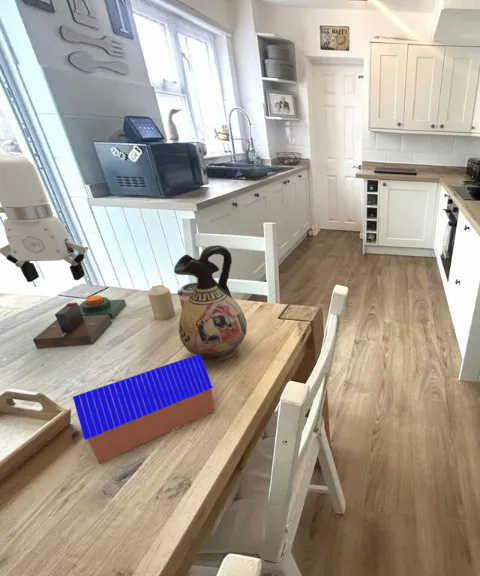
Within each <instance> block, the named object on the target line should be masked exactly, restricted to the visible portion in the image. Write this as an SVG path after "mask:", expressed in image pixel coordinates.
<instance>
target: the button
mask: <svg viewBox="0 0 480 576" xmlns="http://www.w3.org/2000/svg"><path fill="white" fill-rule="evenodd" d="M102 297H103V296H102V295H99V294H98V295H91V296H88V297H87V298H86V299H85V301H87V304H88V305H97V304H100V303H102V302H103V299H102Z"/></svg>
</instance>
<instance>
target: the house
mask: <svg viewBox="0 0 480 576" xmlns="http://www.w3.org/2000/svg"><path fill="white" fill-rule="evenodd" d="M212 389H213V385H212V382H211V379H210V376H209V374H208V371H207V369H206V366H205V364H204V361H203V360H202V358H201V356H200V354H197V355H195V354H193V355H191V356H188V357H186V358H183V359H179V360H177V361H174V362H171V363H168V364H165V365H162V366H160V367H156V368H153V369H150V370H147V371H145V372H144V371H143V372H141V373H139V374H138V373H137V374H135V375H132V376H129V377H126V378H124V379H120V380H117V381H114V382H112V383H109V384H106V385H103V386H100V387H97V388H94V389H92V390H88V391H85V392H83V393H79V394H76V395H74V396H72V400H73V403H74V406H75V410H76V413H77V418H78V421H79V425H80V428H81V432H82V436H83V439H84V441H86V440H88V443H89V446H90V447H91V449H92V452H93V454H94V456H95V458H96V459H97V462H98V464H103V463H104V462H107V461H109V460H111V459H113V458H115V457H118V456H120V455H122V454H124V453H126V452H128V451H131V450H133V449H135V448H138V447H139V446H143V445H144V444H146V443H148V442H150V441H153V440H155V439H157V438H159V436H160V437H162V436H164V435H166V434H168V433H170V432H169V431H171V430H173V429H175V430H177V429H178V428H177V427H179V428H181V427H180V426H182V425H184V424H186V425H188V424H190V423H192V422H191V421H193V420H195V421H197V420H199V419H200V418H199V417H201V418H203V417H202V416H204V415H206V414H208V415H210V414H212V413H213V412H212V411H215V412H216V406H215V402H214V397H213V393H212ZM211 412H212V413H211ZM209 413H210V414H209ZM206 416H207V415H206ZM204 417H205V416H204ZM198 418H199V419H198ZM196 419H197V420H196ZM189 422H190V423H189ZM193 422H194V421H193ZM187 423H188V424H187ZM184 426H185V425H184ZM182 427H183V426H182ZM176 428H177V429H176ZM173 431H174V430H173ZM167 432H168V433H167ZM171 432H172V431H171ZM165 433H166V434H165ZM163 434H164V435H163ZM161 435H162V436H161ZM156 437H157V438H156Z"/></svg>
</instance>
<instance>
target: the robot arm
mask: <svg viewBox="0 0 480 576" xmlns="http://www.w3.org/2000/svg"><path fill="white" fill-rule="evenodd" d="M0 205H1V206H0V214H5V216H6V218H4V219H3V225H4V232H5V236H6V240H7V243H8V244H7V245H5V246H3V247H2V246H1V247H0V254H1V255H2V256H3V257H4V258H6V260H7V261H8V262H11V263H12V264H15V267H17V268H20V270H21V272H22V275H23V277H25V280H26V281H27V283H32V282H33V281H35V280H37V279H38V278H40V275H39V273H38V270H37V268H36V266H35V263H33V262H49V261H50V262H53V261H54V262H55V261H62V260H63V261H65V262H66V263H68V264H70V265H69V271H70V273H71V275H72V278H73V280H74V281H79V280H81V279H82V278H84V277H85V270H84V268H83V265H82V262H84V259H86V257H87V255H88V251H89V246H87V245H84V244H81V243H78V242H76V241H72V240H71V238H70V235H69V234H68V232H67V230H66V228H65V227H64V225H63V223H62V221H61V220H60V219H59V217H58V216H56V215H54V212H53V210H52V207H51V205H50V203H49V200H48V197H47V194H46V192H45V188H44V186H43V184H42V180H41V178H40V176H39V173H38V171H37V168H36V166H35V163H34V162H33V160H32V159H31V158H30V157H27V156H25V155H20V154H19V155H18V154H0ZM75 250H76V251H78V254H76V253H75Z"/></svg>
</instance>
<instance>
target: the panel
mask: <svg viewBox="0 0 480 576" xmlns="http://www.w3.org/2000/svg"><path fill="white" fill-rule="evenodd" d="M83 319H84V320H83V321H82V322H81V323H80V324H79V325H78V326H77V327H76V328H75V329H74V330H73V331H71V332H62V330H61V328H60V325H59V323H58V321H57V319H56V320H54V321H52V323H50V325H48V326H47V327H46V328H44V330H42V331H41V332H40V333H39V334H38V335H36V336H35V337H34V338H33V339H32V341H33V343H34V345H35V347H36V349H37V350H43V349H56V348H65V347H78V346H92V345H94V344H95V343H96V342H97V341H98V339H100V337H101V336H102V335H103V334H104V333H105V332H106V331H107V329H108V328H109V327H110V326H111V325H112V324H113V321H112V320H111V318H110V315H109V314H107V315H90V316H83Z"/></svg>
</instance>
